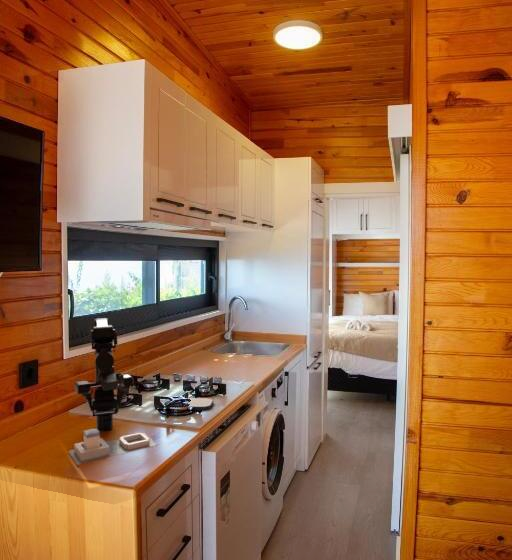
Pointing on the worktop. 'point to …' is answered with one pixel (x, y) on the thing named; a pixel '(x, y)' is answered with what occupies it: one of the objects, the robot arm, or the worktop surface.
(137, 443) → the panel
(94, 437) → the plug
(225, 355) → the worktop surface
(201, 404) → the external hard drive
